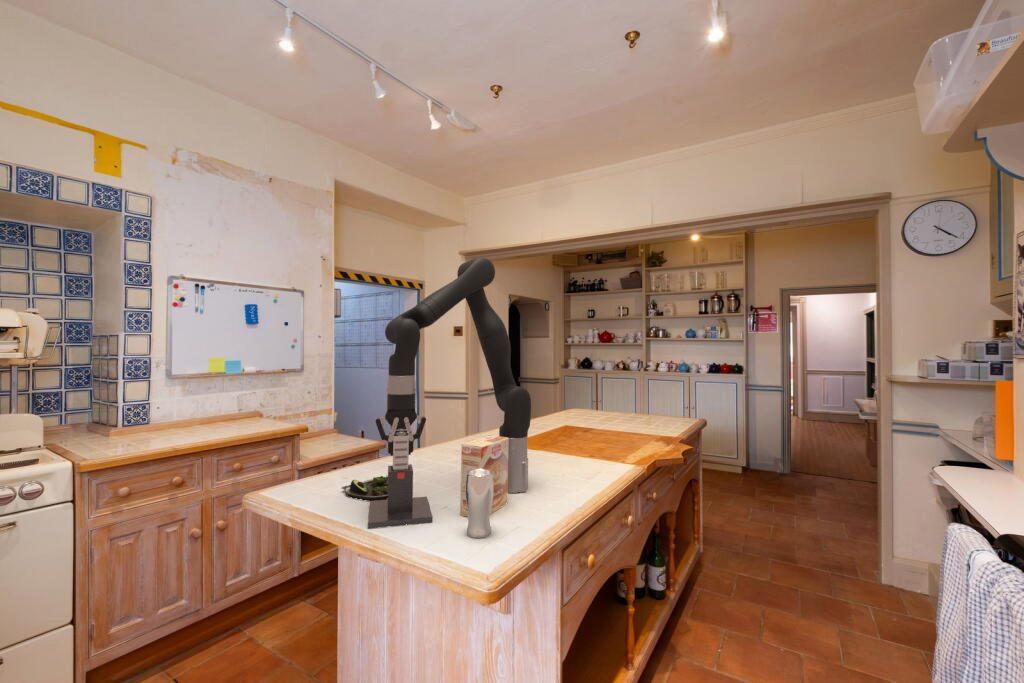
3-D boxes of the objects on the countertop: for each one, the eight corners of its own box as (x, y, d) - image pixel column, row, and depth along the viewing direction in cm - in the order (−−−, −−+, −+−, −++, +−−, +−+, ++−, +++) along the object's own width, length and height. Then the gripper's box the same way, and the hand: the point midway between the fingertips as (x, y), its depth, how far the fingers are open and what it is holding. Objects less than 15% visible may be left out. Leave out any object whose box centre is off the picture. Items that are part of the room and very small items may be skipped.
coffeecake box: (480, 520, 118) (481, 446, 118) (458, 515, 121) (460, 443, 121) (508, 503, 131) (509, 437, 131) (488, 499, 134) (489, 434, 134)
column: (407, 504, 124) (408, 429, 124) (407, 510, 120) (409, 432, 120) (391, 505, 123) (393, 429, 123) (392, 511, 119) (393, 432, 119)
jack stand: (426, 501, 131) (427, 459, 131) (432, 522, 116) (433, 474, 116) (369, 506, 127) (370, 462, 127) (367, 528, 111) (368, 478, 112)
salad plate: (376, 479, 154) (376, 465, 154) (419, 486, 147) (419, 472, 147) (333, 496, 136) (333, 481, 136) (380, 505, 129) (380, 489, 129)
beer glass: (464, 527, 113) (465, 468, 113) (492, 527, 113) (493, 468, 114) (464, 539, 106) (465, 476, 106) (493, 539, 107) (494, 476, 107)
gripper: (426, 390, 127) (425, 450, 127) (374, 390, 123) (373, 452, 123) (429, 392, 120) (428, 456, 120) (374, 393, 116) (372, 459, 116)
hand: (400, 454), depth 121 cm, fingers closed on column, 4 cm apart
